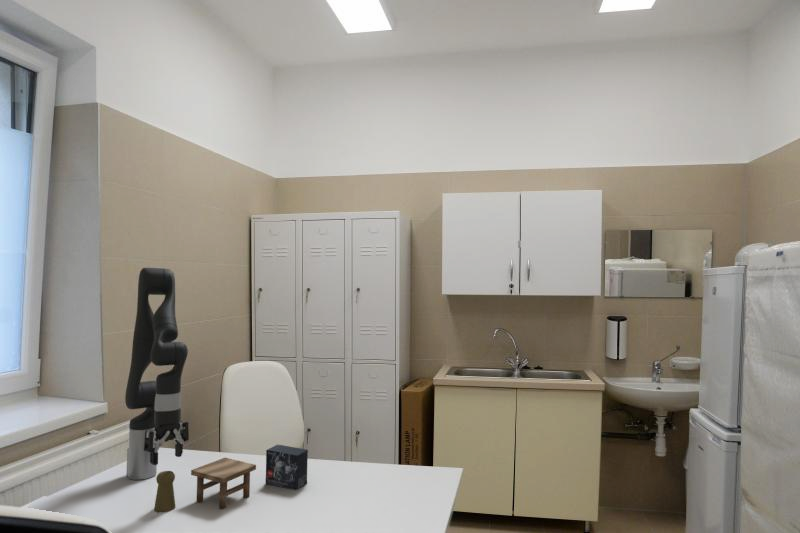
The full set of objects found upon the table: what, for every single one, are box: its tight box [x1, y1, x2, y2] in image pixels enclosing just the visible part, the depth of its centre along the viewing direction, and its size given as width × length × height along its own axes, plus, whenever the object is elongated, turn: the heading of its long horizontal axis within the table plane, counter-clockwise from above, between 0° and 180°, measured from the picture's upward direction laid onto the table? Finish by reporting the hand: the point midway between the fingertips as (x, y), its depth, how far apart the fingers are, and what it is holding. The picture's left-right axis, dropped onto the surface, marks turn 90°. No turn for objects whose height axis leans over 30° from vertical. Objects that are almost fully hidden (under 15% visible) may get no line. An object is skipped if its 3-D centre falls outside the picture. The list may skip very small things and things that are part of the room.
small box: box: [265, 444, 309, 491], centre depth 183 cm, size 13×7×12 cm, turn 68°
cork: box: [153, 470, 176, 514], centre depth 162 cm, size 6×6×11 cm
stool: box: [190, 457, 257, 510], centre depth 170 cm, size 14×14×10 cm
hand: (166, 460), depth 162 cm, fingers open, 8 cm apart
